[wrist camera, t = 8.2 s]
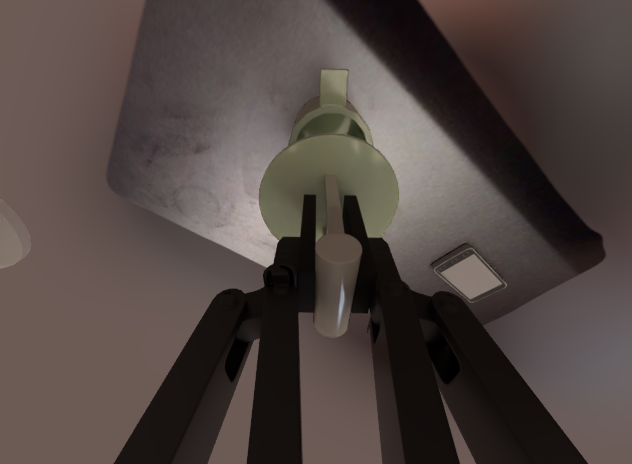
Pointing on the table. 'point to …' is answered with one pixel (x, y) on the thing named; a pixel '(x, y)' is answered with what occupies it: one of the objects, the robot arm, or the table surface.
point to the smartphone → (468, 273)
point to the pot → (330, 111)
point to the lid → (330, 211)
